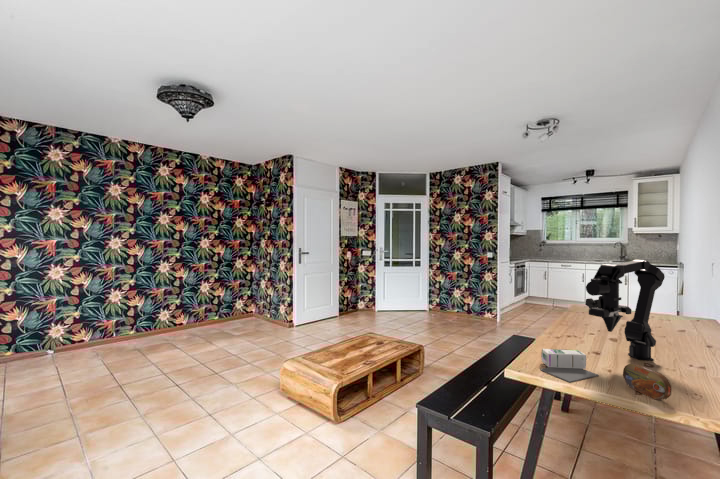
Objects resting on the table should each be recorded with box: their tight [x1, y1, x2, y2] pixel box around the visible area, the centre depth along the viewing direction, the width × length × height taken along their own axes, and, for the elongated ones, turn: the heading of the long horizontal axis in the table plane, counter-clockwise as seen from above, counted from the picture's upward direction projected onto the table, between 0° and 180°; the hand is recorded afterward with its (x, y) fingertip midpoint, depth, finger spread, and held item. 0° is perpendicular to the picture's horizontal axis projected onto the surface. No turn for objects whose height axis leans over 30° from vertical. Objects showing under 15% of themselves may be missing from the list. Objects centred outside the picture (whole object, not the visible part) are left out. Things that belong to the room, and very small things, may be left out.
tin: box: [622, 363, 672, 401], centre depth 110 cm, size 15×3×8 cm, turn 5°
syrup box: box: [541, 348, 587, 370], centre depth 132 cm, size 6×6×14 cm
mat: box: [539, 367, 600, 383], centre depth 126 cm, size 16×12×1 cm
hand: (609, 331), depth 137 cm, fingers closed
